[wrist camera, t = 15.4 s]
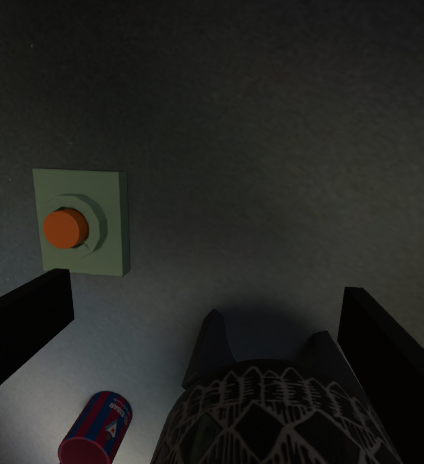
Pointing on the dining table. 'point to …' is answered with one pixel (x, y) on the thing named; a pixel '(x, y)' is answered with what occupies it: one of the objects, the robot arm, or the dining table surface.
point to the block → (96, 214)
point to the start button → (65, 228)
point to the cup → (97, 431)
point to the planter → (270, 410)
